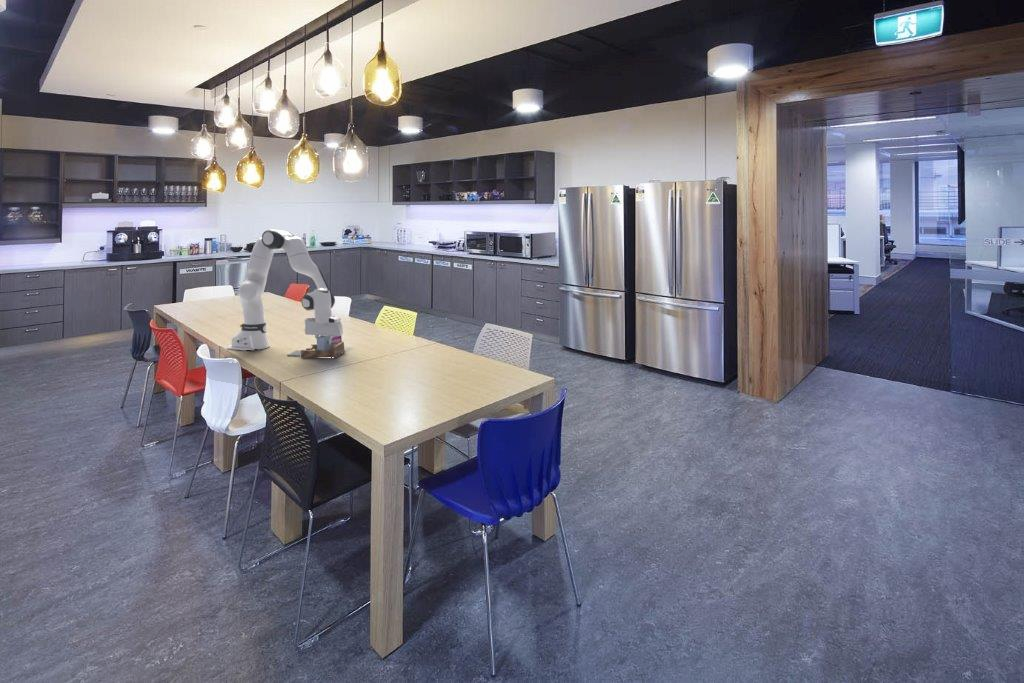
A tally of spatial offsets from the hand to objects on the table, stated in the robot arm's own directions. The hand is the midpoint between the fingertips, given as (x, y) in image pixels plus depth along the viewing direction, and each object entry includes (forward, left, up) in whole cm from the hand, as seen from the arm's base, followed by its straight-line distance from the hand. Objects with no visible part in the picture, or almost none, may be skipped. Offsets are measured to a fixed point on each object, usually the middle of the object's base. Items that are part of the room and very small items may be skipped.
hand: (324, 343), depth 319 cm
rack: (-1, 0, -7) cm, 7 cm away
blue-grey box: (0, 0, -4) cm, 4 cm away
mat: (-15, 0, -7) cm, 17 cm away
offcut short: (-9, 0, -5) cm, 10 cm away
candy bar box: (-3, +19, -7) cm, 20 cm away
